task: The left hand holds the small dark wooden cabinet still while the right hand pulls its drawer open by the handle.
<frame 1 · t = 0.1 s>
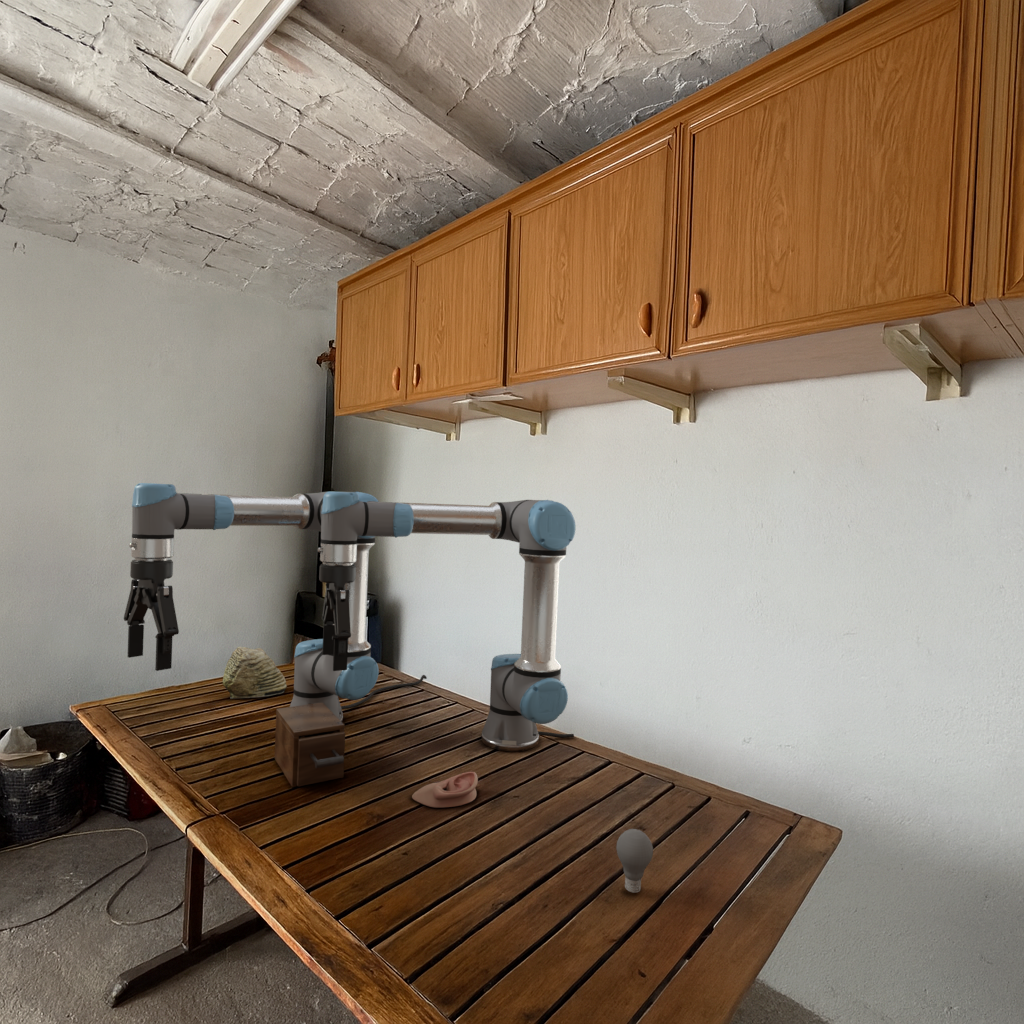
left hand: (148, 662, 129), 28 cm above the table, tool pointing down, fingers open, 13 cm apart
right hand: (334, 662, 136), 28 cm above the table, tool pointing down, fingers open, 13 cm apart
anatomical model: (445, 796, 136), on the table
light bulb: (632, 891, 106), on the table
fossil: (254, 694, 198), on the table
drawer: (315, 751, 142), point 6 cm above the table, slide at 1.3 cm
cabinet: (307, 767, 148), on the table
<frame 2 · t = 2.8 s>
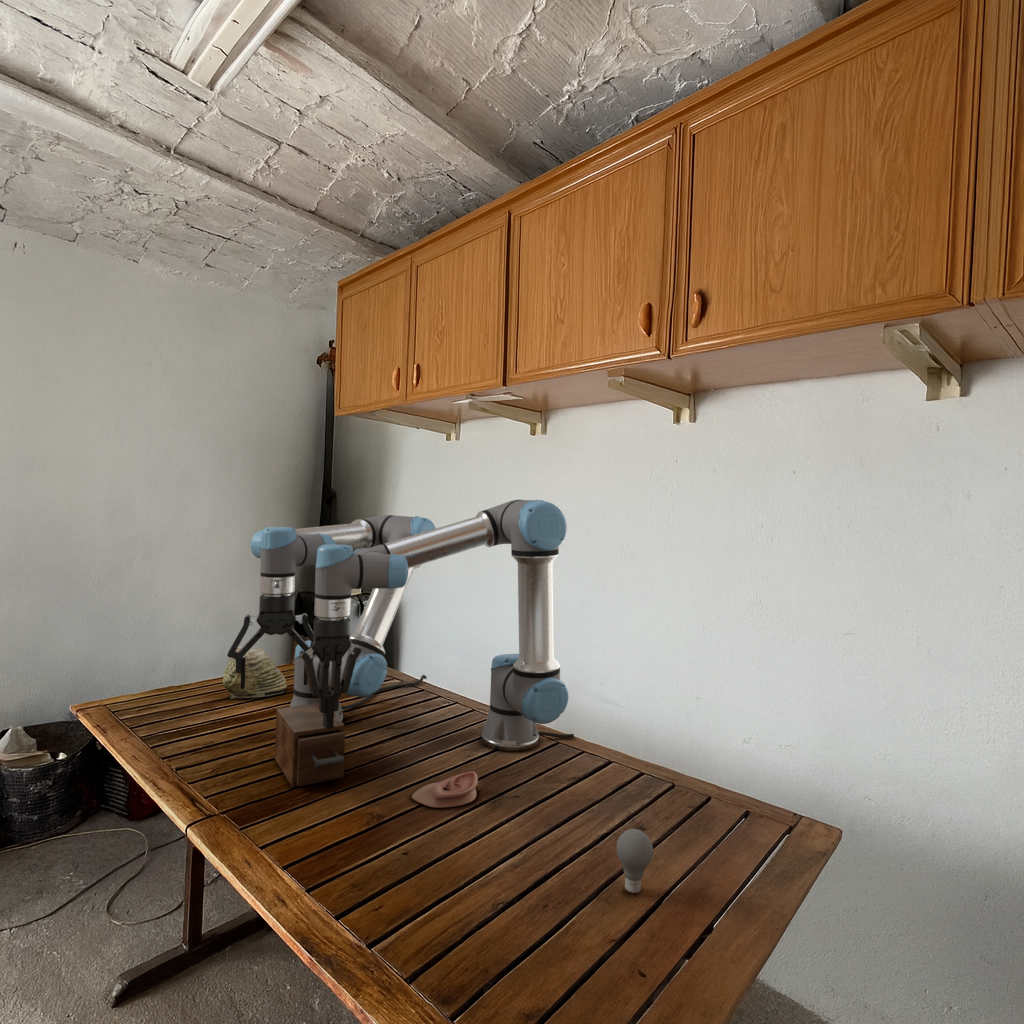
left hand: (274, 685, 147), 19 cm above the table, tool pointing down, fingers open, 13 cm apart
right hand: (328, 726, 135), 14 cm above the table, tool pointing down, fingers closed
nothing on the table moved.
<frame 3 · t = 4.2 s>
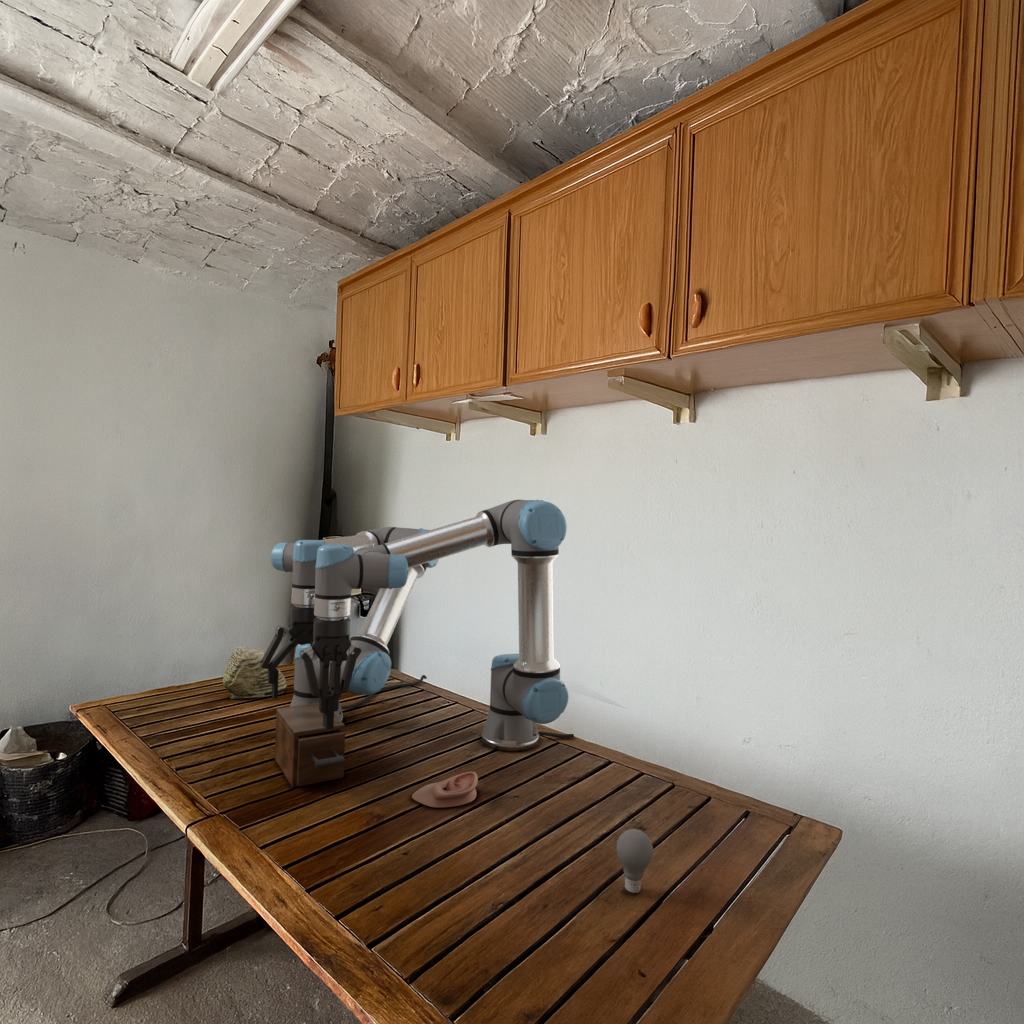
left hand: (304, 693, 151), 16 cm above the table, tool pointing down, fingers open, 13 cm apart
right hand: (328, 726, 135), 14 cm above the table, tool pointing down, fingers closed
nothing on the table moved.
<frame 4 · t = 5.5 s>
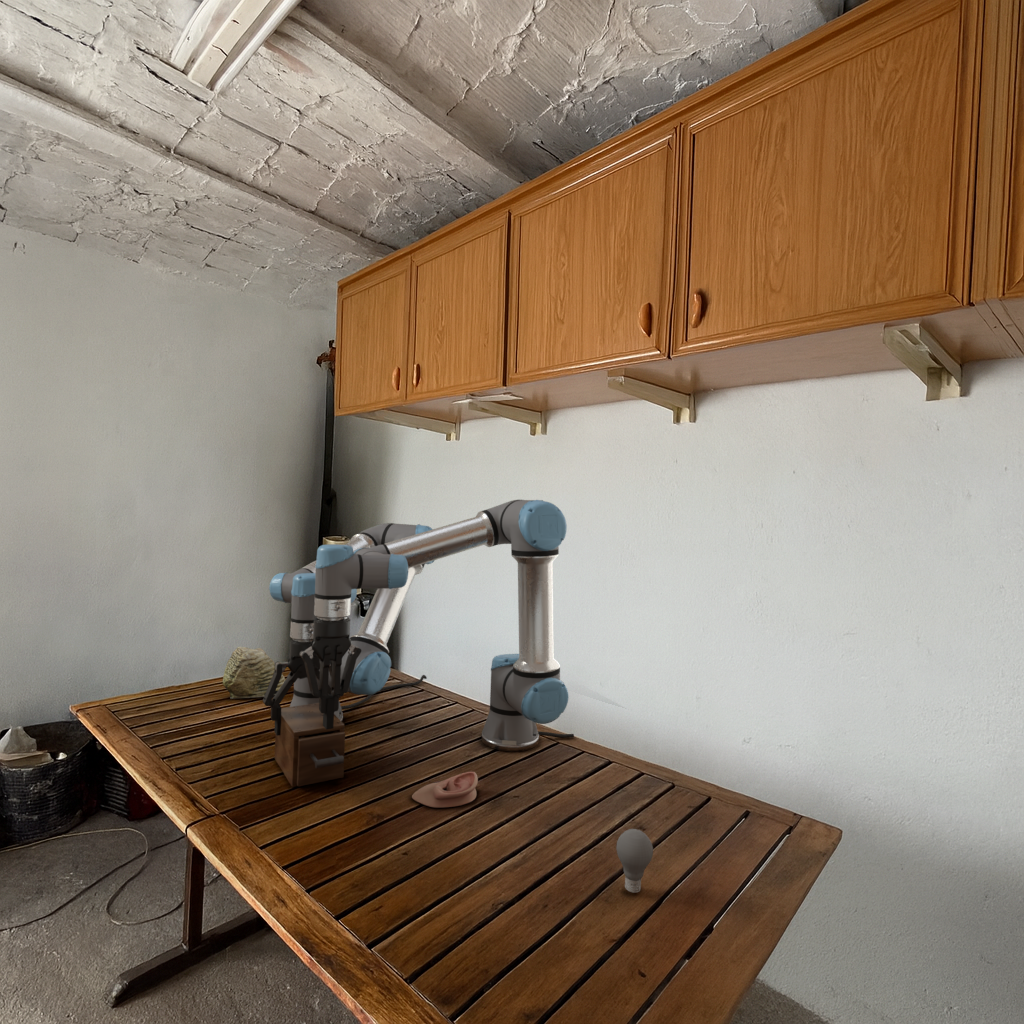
left hand: (303, 729, 152), 7 cm above the table, tool pointing down, fingers closed on cabinet, 11 cm apart
right hand: (328, 726, 135), 14 cm above the table, tool pointing down, fingers closed
cabinet: (307, 767, 148), on the table, touching left hand
everything else where it was.
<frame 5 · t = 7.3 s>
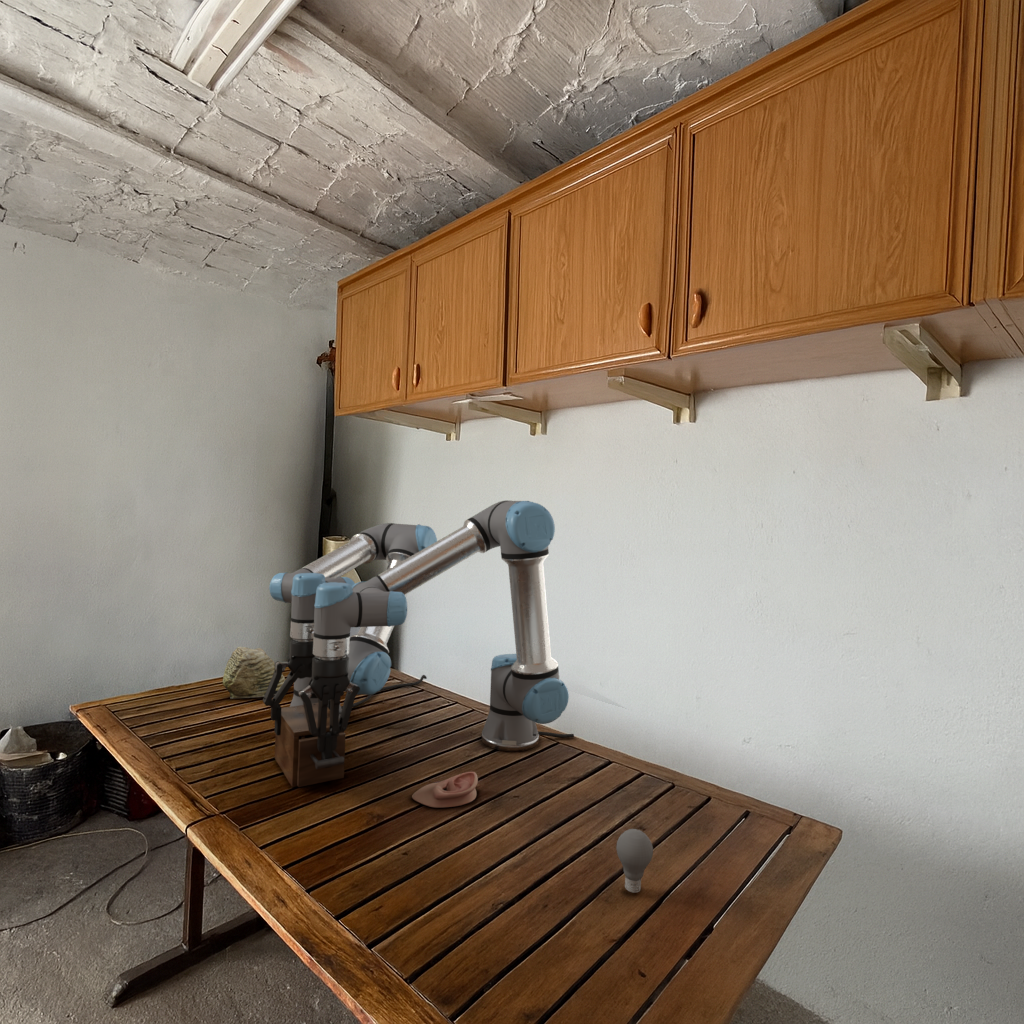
left hand: (303, 729, 152), 7 cm above the table, tool pointing down, fingers closed on cabinet, 11 cm apart
right hand: (326, 765, 135), 6 cm above the table, tool pointing down, fingers closed
drawer: (316, 751, 142), point 6 cm above the table, slide at 1.6 cm, touching right hand
cabinet: (307, 767, 148), on the table, touching left hand
everything else where it was.
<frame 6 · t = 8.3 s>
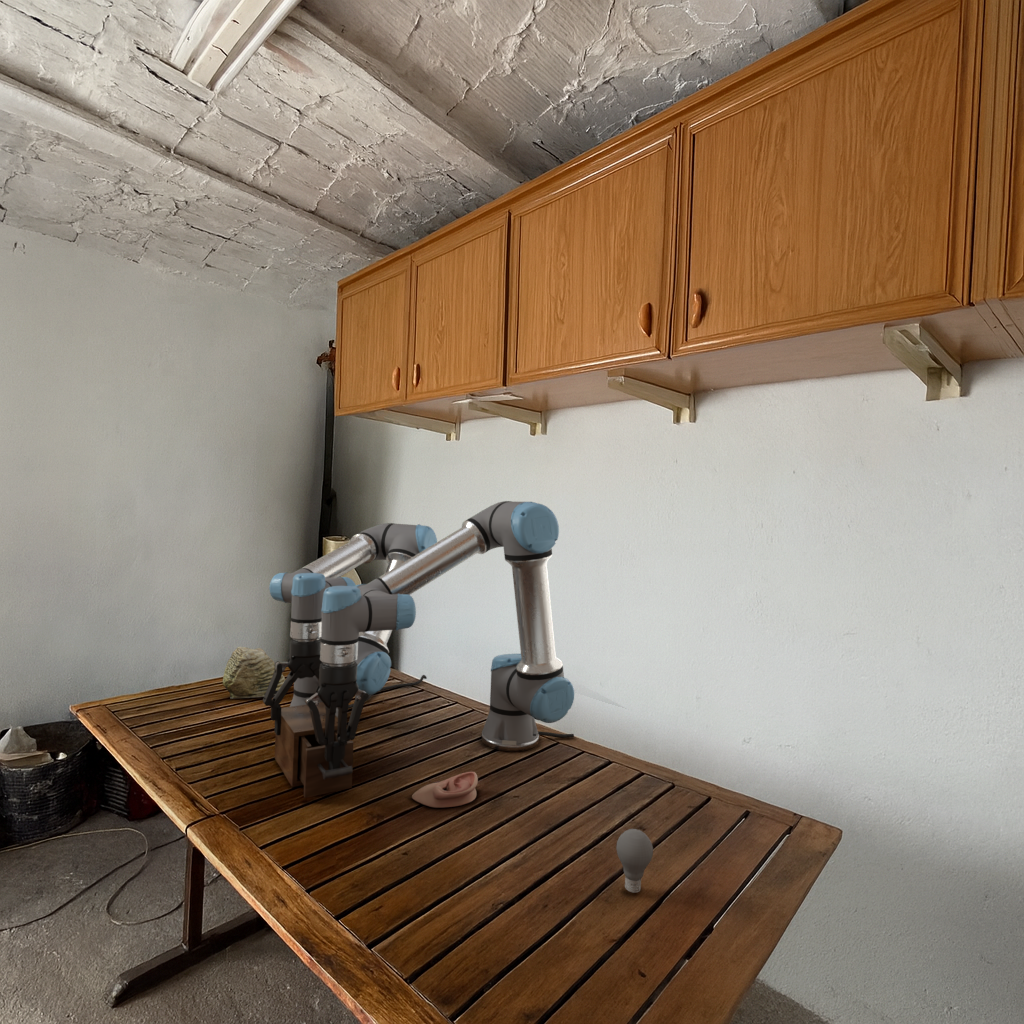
left hand: (303, 729, 152), 7 cm above the table, tool pointing down, fingers closed on cabinet, 11 cm apart
right hand: (333, 775, 131), 6 cm above the table, tool pointing down, fingers closed
drawer: (323, 760, 138), point 6 cm above the table, slide at 6.9 cm, touching right hand
cabinet: (307, 767, 148), on the table, touching left hand
everything else where it was.
when the left hand's fingers open (7 cm above the table, at t = 10.1 s): cabinet stays where it is, on the table.
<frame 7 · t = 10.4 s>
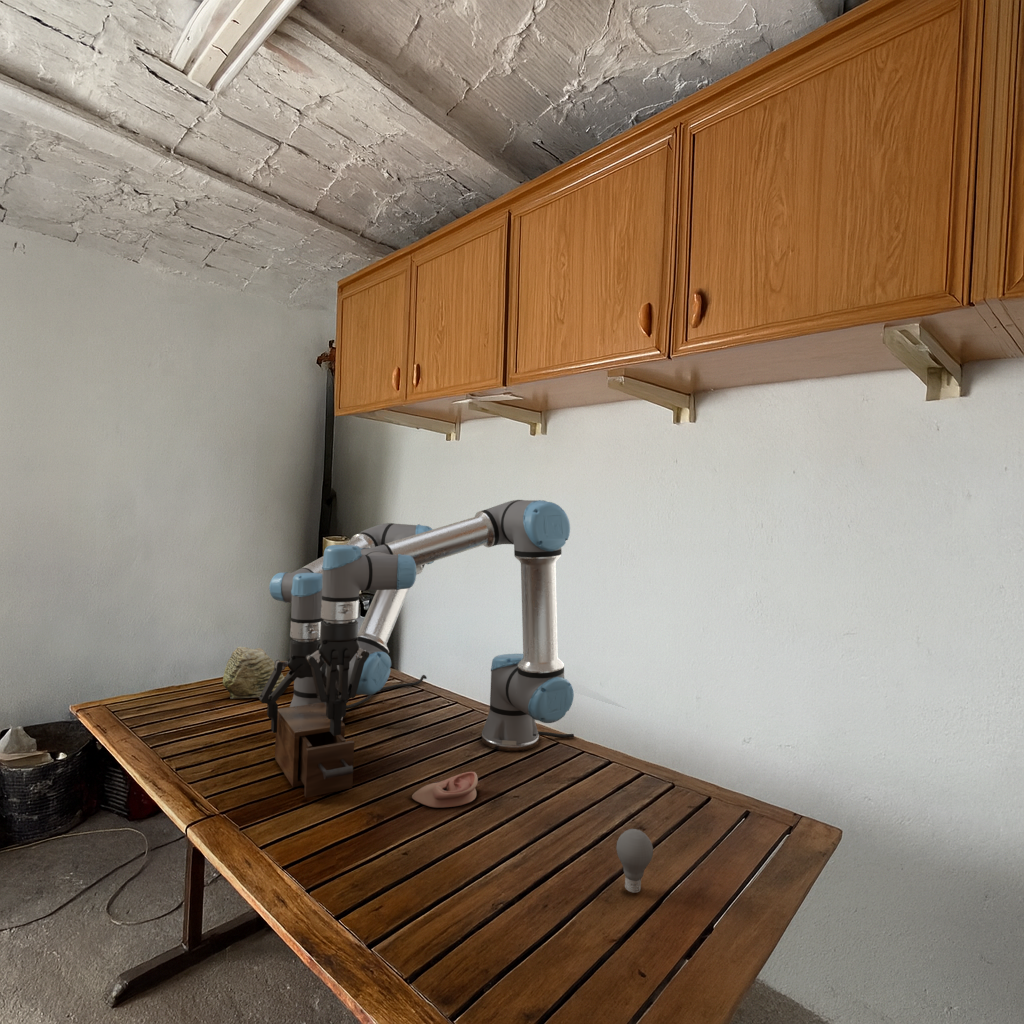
left hand: (303, 726, 152), 8 cm above the table, tool pointing down, fingers open, 13 cm apart
right hand: (335, 732, 131), 15 cm above the table, tool pointing down, fingers closed
drawer: (323, 760, 138), point 6 cm above the table, slide at 7.0 cm
cabinet: (307, 767, 148), on the table
everything else where it was.
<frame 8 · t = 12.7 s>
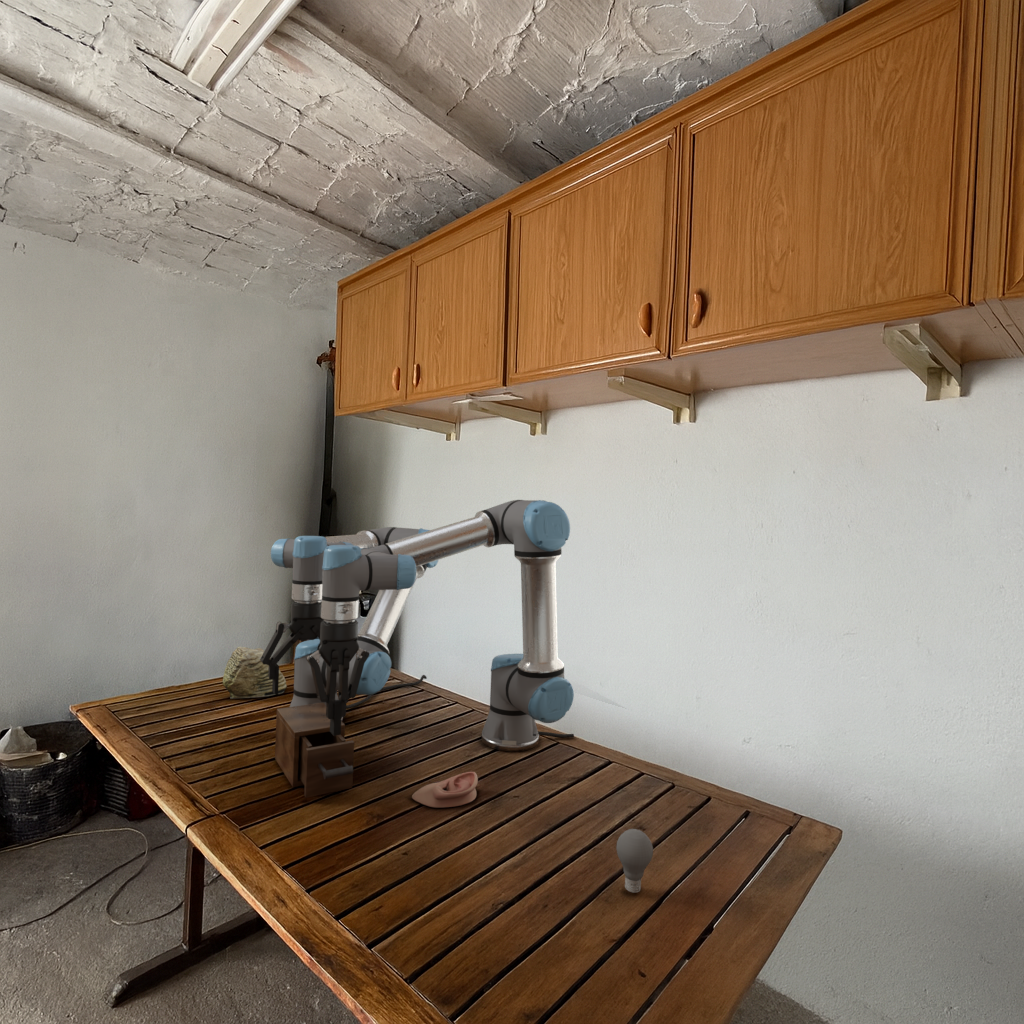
left hand: (304, 689, 152), 17 cm above the table, tool pointing down, fingers open, 13 cm apart
right hand: (335, 732, 131), 15 cm above the table, tool pointing down, fingers closed
nothing on the table moved.
at the end: drawer slide at 7.0 cm; cabinet tilted 0°; cabinet never tilted more than 1° during the clip; cabinet moved 0.1 cm from its start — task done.
